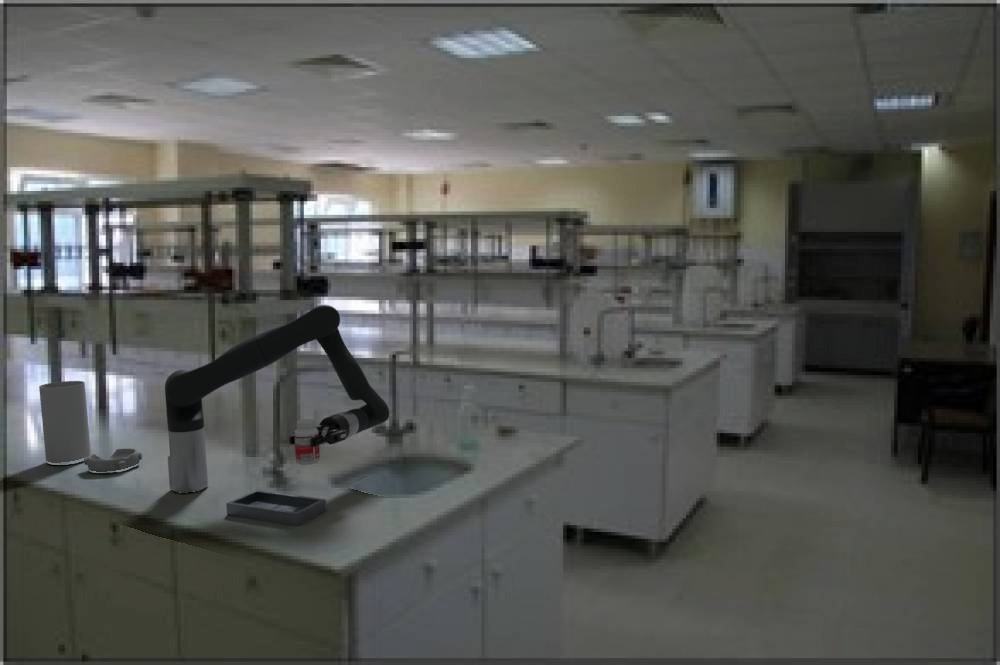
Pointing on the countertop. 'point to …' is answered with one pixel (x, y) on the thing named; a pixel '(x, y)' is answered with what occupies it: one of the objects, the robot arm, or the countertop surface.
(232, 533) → the countertop surface
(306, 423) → the pill bottle
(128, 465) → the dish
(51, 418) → the cylinder vase
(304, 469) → the countertop surface
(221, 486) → the countertop surface
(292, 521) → the rectangular tray
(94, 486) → the countertop surface
